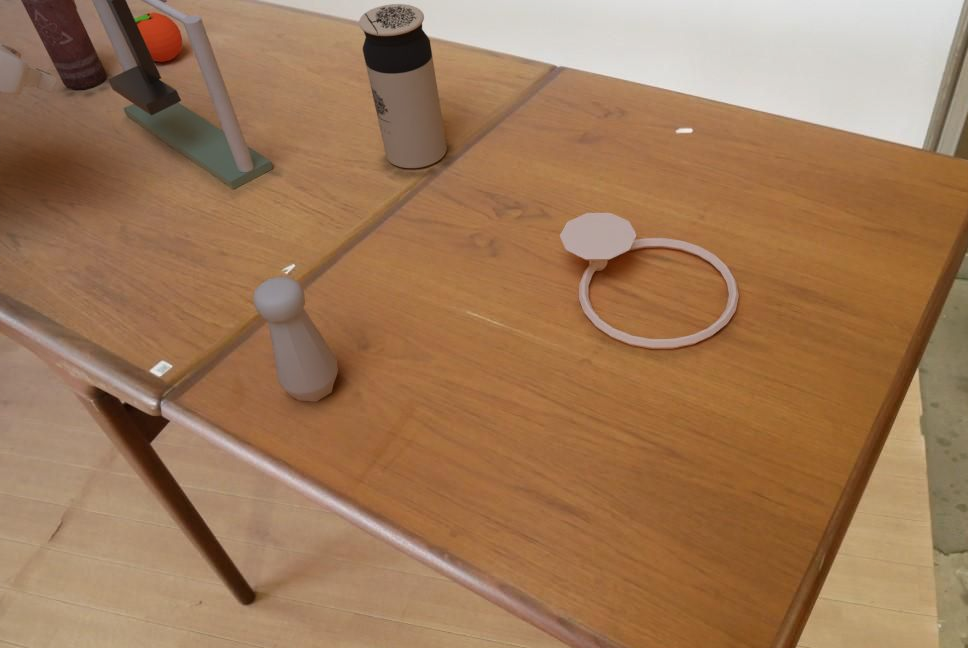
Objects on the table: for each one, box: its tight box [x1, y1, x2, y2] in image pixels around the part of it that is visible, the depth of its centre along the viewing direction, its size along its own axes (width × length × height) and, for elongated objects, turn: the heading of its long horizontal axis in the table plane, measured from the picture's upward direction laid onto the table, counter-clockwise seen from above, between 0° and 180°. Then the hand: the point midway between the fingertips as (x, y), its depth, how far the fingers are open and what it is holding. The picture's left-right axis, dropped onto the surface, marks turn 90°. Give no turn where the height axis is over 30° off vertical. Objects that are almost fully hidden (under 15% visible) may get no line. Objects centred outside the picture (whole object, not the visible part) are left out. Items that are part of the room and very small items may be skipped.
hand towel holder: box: [559, 212, 740, 350], centre depth 89 cm, size 17×4×21 cm
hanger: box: [106, 0, 182, 115], centre depth 103 cm, size 9×10×13 cm
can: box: [20, 0, 106, 91], centre depth 122 cm, size 6×6×14 cm
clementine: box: [134, 12, 183, 63], centre depth 128 cm, size 8×7×7 cm
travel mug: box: [358, 3, 448, 169], centre depth 104 cm, size 8×8×18 cm
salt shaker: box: [252, 276, 339, 403], centre depth 78 cm, size 6×6×13 cm
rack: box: [91, 0, 274, 190], centre depth 107 cm, size 6×28×20 cm, turn 47°
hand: (34, 70), depth 96 cm, fingers open, 8 cm apart
